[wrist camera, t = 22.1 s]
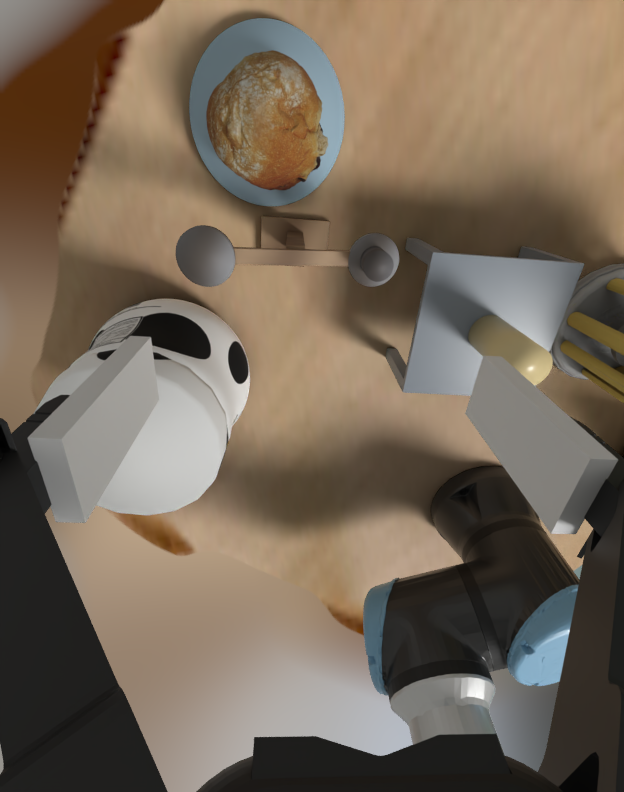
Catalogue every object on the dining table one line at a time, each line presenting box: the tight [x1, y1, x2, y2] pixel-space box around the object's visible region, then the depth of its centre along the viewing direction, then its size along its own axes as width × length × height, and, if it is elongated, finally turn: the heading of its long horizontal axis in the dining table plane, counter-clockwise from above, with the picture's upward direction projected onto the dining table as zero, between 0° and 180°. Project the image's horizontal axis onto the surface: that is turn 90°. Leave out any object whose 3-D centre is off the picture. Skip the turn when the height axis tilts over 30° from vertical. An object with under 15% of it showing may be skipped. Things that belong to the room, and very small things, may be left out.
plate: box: [189, 18, 345, 206], centre depth 36 cm, size 14×14×1 cm
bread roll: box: [206, 50, 328, 190], centre depth 34 cm, size 10×10×8 cm
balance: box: [176, 216, 399, 287], centre depth 36 cm, size 18×4×13 cm, turn 86°
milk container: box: [34, 299, 250, 515], centre depth 41 cm, size 17×17×18 cm
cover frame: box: [386, 238, 584, 396], centre depth 39 cm, size 14×14×17 cm
